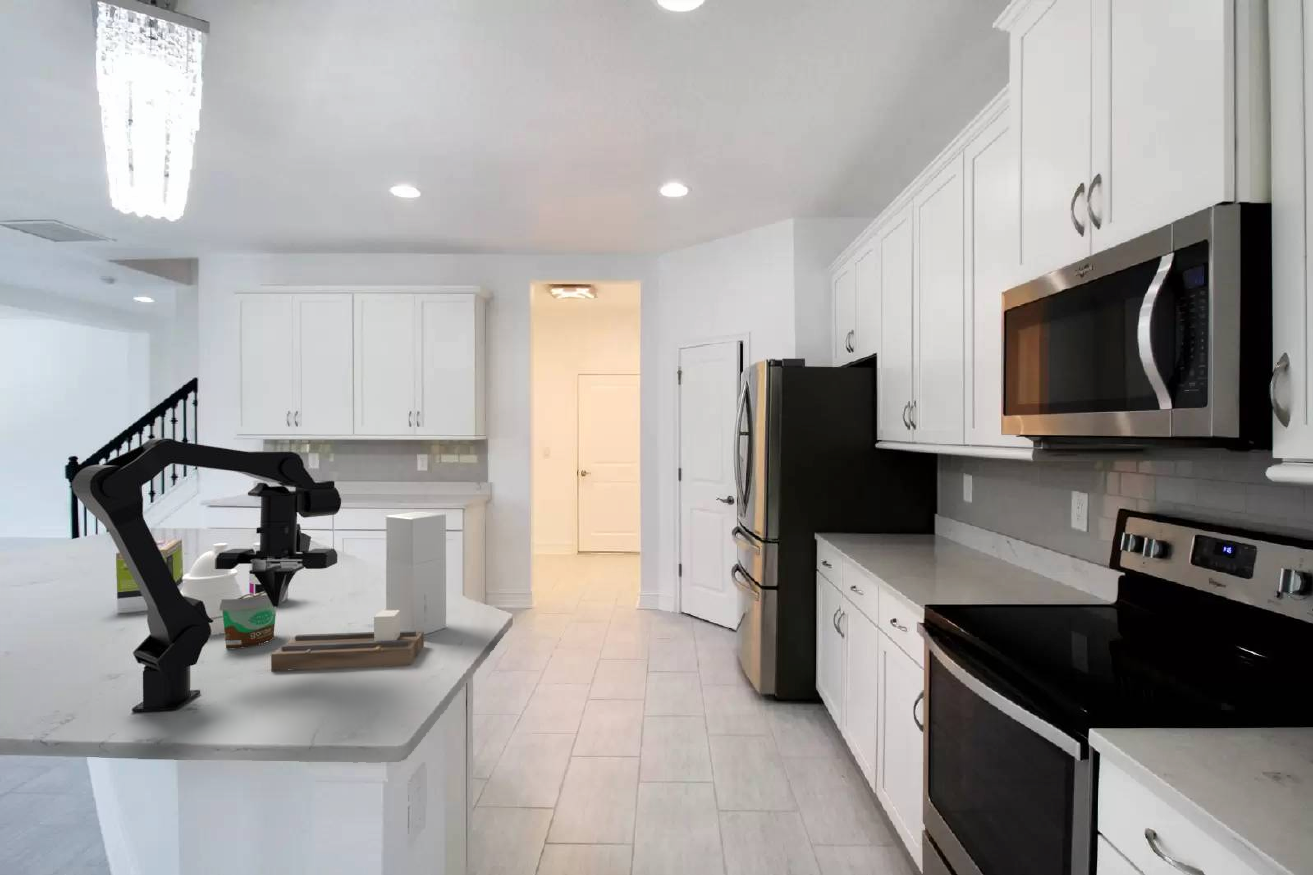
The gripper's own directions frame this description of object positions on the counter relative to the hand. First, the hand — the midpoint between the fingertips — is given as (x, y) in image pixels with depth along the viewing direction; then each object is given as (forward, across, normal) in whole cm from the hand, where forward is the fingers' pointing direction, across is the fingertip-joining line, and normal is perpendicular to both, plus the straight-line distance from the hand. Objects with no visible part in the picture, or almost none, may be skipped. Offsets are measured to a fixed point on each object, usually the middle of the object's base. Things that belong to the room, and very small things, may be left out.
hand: (276, 606), depth 114 cm
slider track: (+11, -12, -4) cm, 17 cm away
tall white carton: (+11, -19, -20) cm, 30 cm away
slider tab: (+8, -18, -4) cm, 20 cm away
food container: (+11, +10, -16) cm, 22 cm away
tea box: (+11, +51, -48) cm, 71 cm away
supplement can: (+11, +23, -46) cm, 53 cm away
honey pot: (+11, +26, -26) cm, 38 cm away
